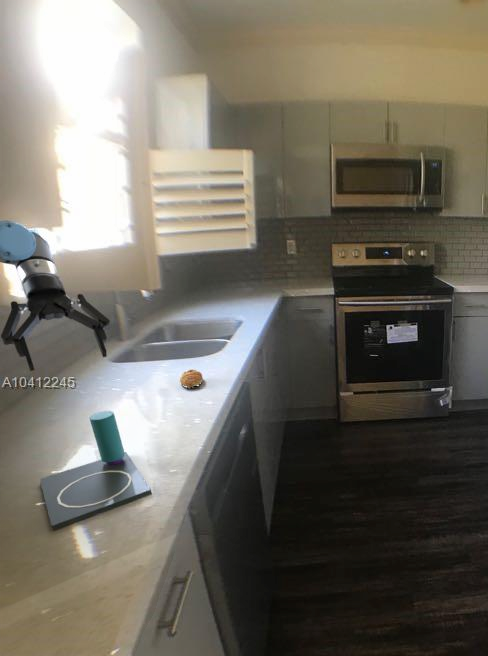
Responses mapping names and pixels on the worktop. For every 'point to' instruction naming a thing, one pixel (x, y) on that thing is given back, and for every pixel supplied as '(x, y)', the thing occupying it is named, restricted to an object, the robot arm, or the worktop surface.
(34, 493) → the worktop surface
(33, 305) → the robot arm
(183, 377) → the pastry
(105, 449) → the dot marker
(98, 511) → the slate board
